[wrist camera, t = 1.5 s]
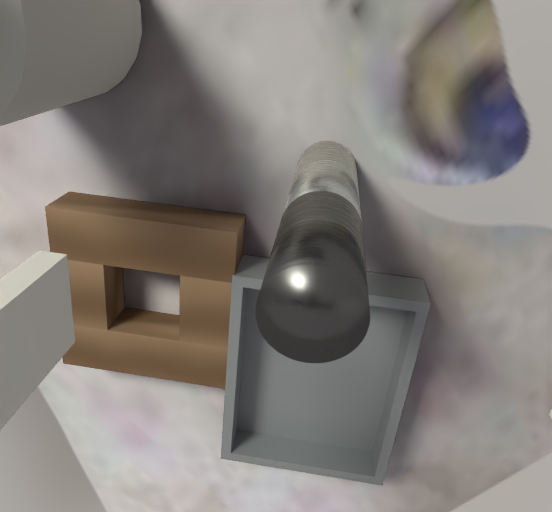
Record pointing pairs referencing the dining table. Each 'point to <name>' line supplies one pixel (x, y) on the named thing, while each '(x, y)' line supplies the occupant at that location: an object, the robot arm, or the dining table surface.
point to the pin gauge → (317, 263)
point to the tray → (321, 385)
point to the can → (63, 52)
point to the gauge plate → (155, 258)
